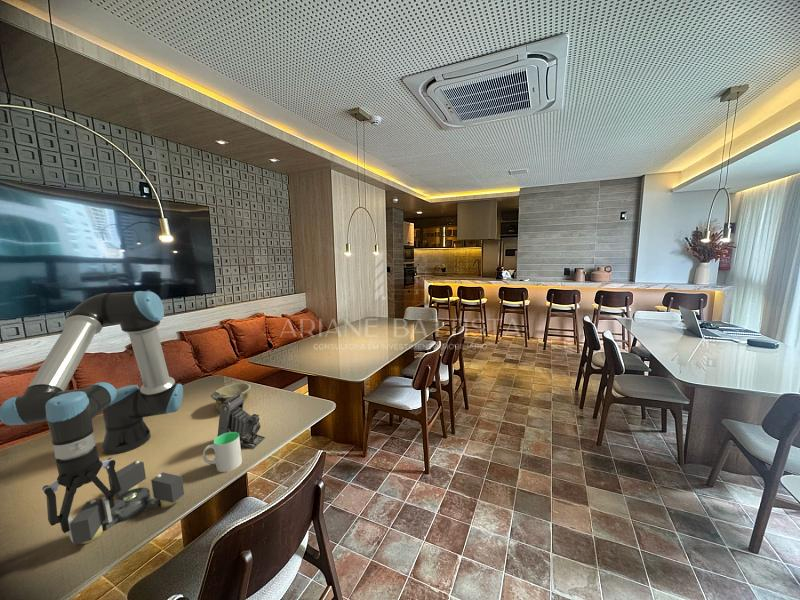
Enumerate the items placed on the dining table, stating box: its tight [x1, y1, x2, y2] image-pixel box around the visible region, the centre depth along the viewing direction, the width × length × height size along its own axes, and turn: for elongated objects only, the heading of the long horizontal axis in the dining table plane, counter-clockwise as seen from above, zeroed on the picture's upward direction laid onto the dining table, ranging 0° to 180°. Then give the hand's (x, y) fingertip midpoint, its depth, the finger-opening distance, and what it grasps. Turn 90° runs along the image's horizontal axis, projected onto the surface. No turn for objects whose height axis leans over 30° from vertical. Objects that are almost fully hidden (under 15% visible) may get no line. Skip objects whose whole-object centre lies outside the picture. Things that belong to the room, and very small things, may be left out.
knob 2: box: [150, 471, 185, 508], centre depth 96 cm, size 4×8×9 cm, turn 74°
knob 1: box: [70, 497, 106, 546], centre depth 85 cm, size 4×8×9 cm, turn 23°
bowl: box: [210, 382, 252, 412], centre depth 160 cm, size 18×18×10 cm
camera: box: [216, 392, 266, 449], centre depth 128 cm, size 11×17×20 cm, turn 79°
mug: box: [202, 432, 243, 473], centre depth 113 cm, size 12×8×10 cm, turn 113°
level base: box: [102, 487, 161, 531], centre depth 93 cm, size 14×12×5 cm
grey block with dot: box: [107, 460, 147, 497], centre depth 101 cm, size 4×8×9 cm, turn 164°
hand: (91, 529), depth 85 cm, fingers closed on knob 1, 6 cm apart
